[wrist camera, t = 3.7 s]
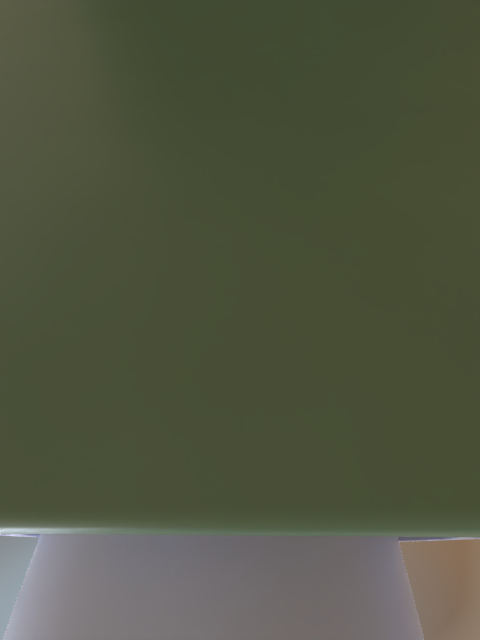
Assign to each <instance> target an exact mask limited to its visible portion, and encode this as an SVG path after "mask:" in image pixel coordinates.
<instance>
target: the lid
mask: <svg viewBox="0 0 480 640" xmlns="http://www.w3.org/2000/svg"><path fill="white" fill-rule="evenodd" d="M0 534H94V535H230V536H366V537H480V0H0Z"/></svg>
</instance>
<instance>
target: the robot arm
mask: <svg viewBox="0 0 480 640" xmlns="http://www.w3.org/2000/svg"><path fill="white" fill-rule="evenodd" d="M0 535H4V536H23V537H39V539H38V542H37V545H36V548H35V551H34V554H33V556H32V559H31V562H30V564H29V567H28V570H27V573H26V576H25V578H24V581H23V584H22V587H21V589H20V592H19V595H18V598H17V601H16V603H15V606H14V609H13V612H12V614H11V617H10V620H9V623H8V626H7V628H6V631H5V634H4V637H3V640H424V636H423V632H422V629H421V625H420V621H419V617H418V613H417V609H416V606H415V602H414V598H413V594H412V590H411V587H410V583H409V579H408V575H407V571H406V567H405V563H404V559H403V556H402V552H401V548H400V544H399V542H405V541H433V540H461V539H480V537H366V536H230V535H94V534H0Z"/></svg>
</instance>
